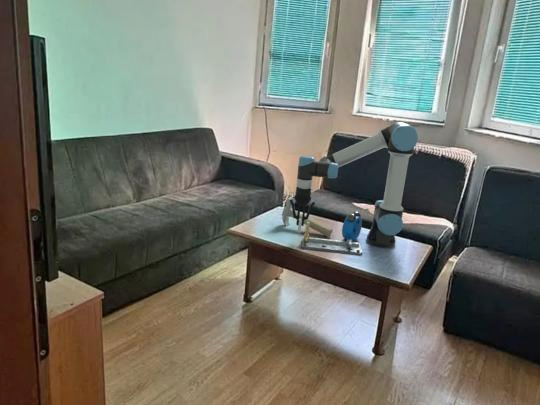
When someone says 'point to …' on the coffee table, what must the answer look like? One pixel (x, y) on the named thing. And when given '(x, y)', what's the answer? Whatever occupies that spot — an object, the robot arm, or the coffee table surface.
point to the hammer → (313, 224)
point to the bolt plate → (331, 247)
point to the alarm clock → (352, 226)
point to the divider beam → (335, 242)
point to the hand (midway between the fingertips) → (299, 231)
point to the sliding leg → (306, 233)
